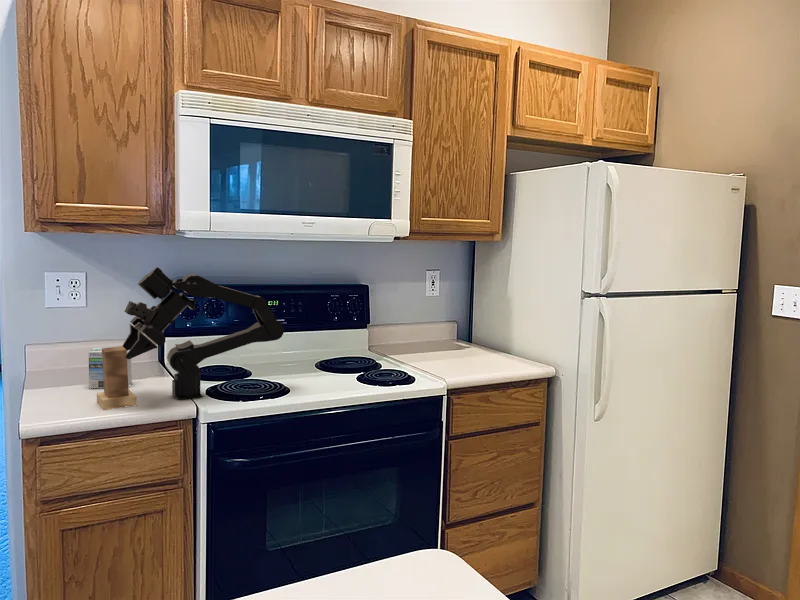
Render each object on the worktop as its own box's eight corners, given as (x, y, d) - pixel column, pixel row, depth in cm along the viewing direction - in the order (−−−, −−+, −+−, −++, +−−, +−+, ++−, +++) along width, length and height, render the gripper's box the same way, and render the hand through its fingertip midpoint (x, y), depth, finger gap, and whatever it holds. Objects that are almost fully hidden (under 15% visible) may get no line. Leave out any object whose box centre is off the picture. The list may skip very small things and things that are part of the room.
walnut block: (124, 390, 170) (122, 346, 168) (128, 395, 166) (126, 349, 164) (104, 393, 167) (101, 348, 166) (107, 398, 163) (105, 352, 162)
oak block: (129, 400, 173) (129, 389, 172) (136, 407, 166) (136, 396, 166) (96, 404, 168) (96, 392, 168) (103, 411, 162) (102, 400, 161)
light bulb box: (88, 389, 181) (87, 351, 180) (92, 383, 187) (92, 347, 186) (129, 388, 184) (128, 350, 182) (132, 382, 190) (131, 346, 189)
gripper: (137, 287, 176) (94, 329, 171) (151, 294, 160) (104, 340, 155) (168, 314, 181) (127, 355, 176) (184, 323, 165) (139, 369, 160)
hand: (123, 354), depth 167 cm, fingers open, 9 cm apart
